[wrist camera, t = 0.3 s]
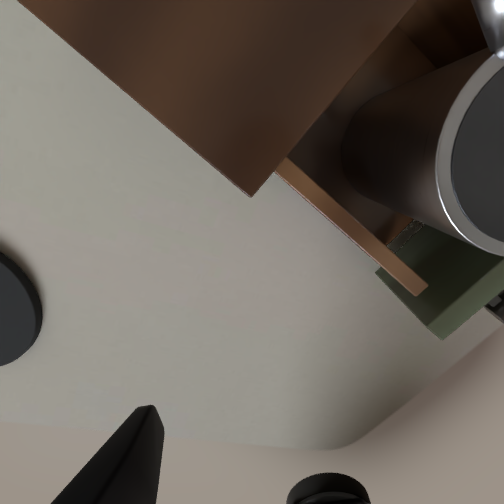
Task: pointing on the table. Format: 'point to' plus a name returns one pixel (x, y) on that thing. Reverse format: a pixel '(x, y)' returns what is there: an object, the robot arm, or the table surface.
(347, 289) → the table surface
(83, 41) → the cabinet
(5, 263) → the coaster
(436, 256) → the drawer
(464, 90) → the cup
